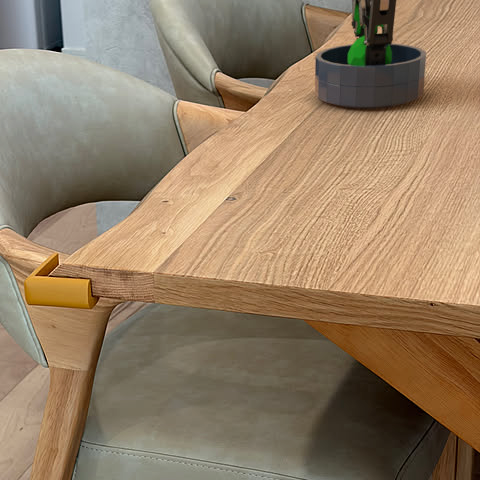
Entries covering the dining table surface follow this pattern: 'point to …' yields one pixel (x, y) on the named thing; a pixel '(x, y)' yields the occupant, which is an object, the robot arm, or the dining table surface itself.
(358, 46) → the polyhedron
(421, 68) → the bowl
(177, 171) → the dining table surface
